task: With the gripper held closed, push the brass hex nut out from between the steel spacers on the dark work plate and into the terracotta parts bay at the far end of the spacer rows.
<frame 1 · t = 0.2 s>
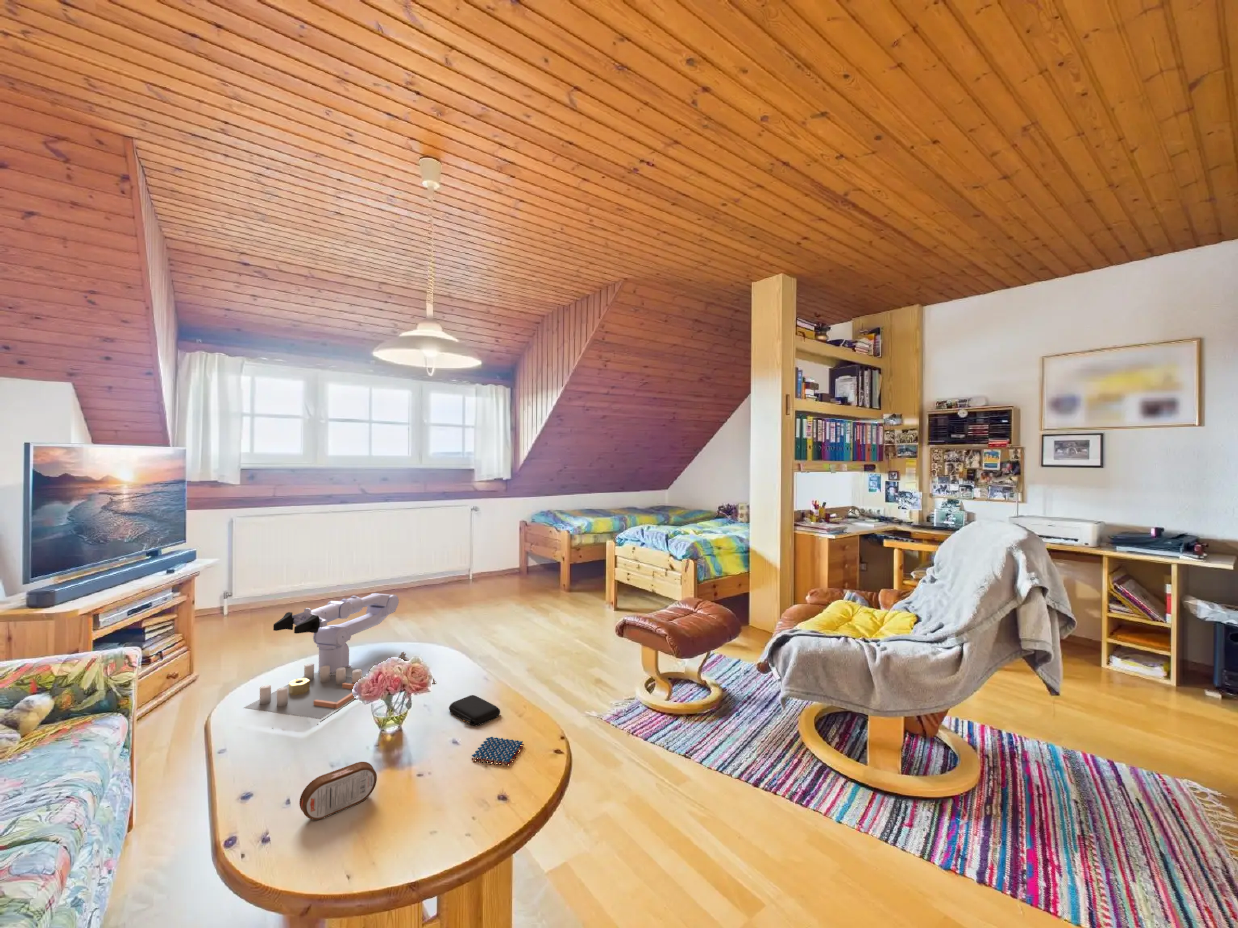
hand: (284, 628, 166), 21 cm above the table, tool horizontal, fingers open, 7 cm apart
brass nut: (299, 691, 168), point 1 cm above the table, touching work plate
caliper: (416, 676, 184), on the table
tin: (340, 809, 116), on the table
parts bay: (339, 699, 165), resting on work plate
carrying case or bag: (472, 716, 158), on the table
work plate: (315, 696, 167), on the table
woven mat: (498, 756, 138), on the table
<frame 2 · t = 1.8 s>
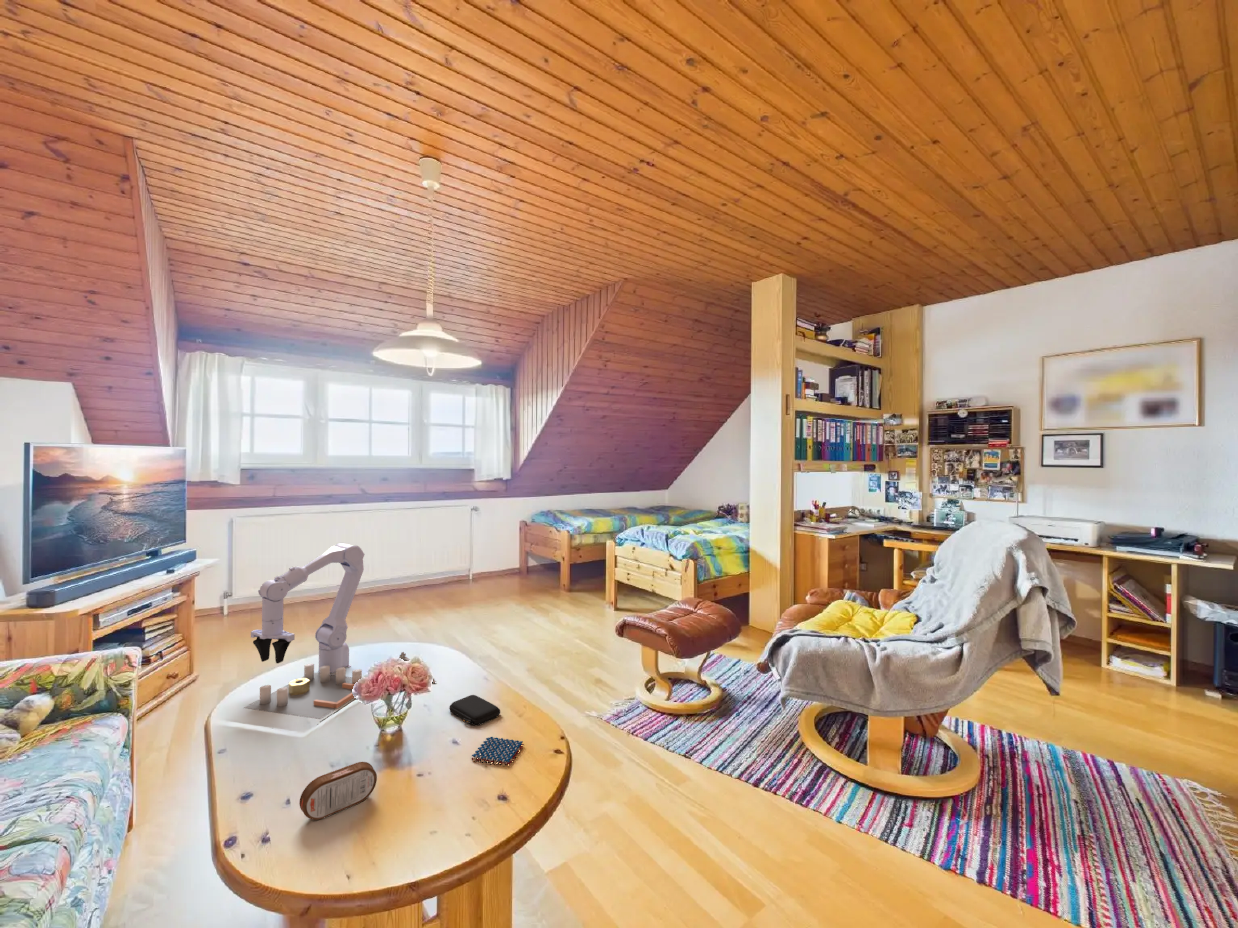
hand: (272, 661, 170), 9 cm above the table, tool pointing down, fingers open, 5 cm apart
nothing on the table moved.
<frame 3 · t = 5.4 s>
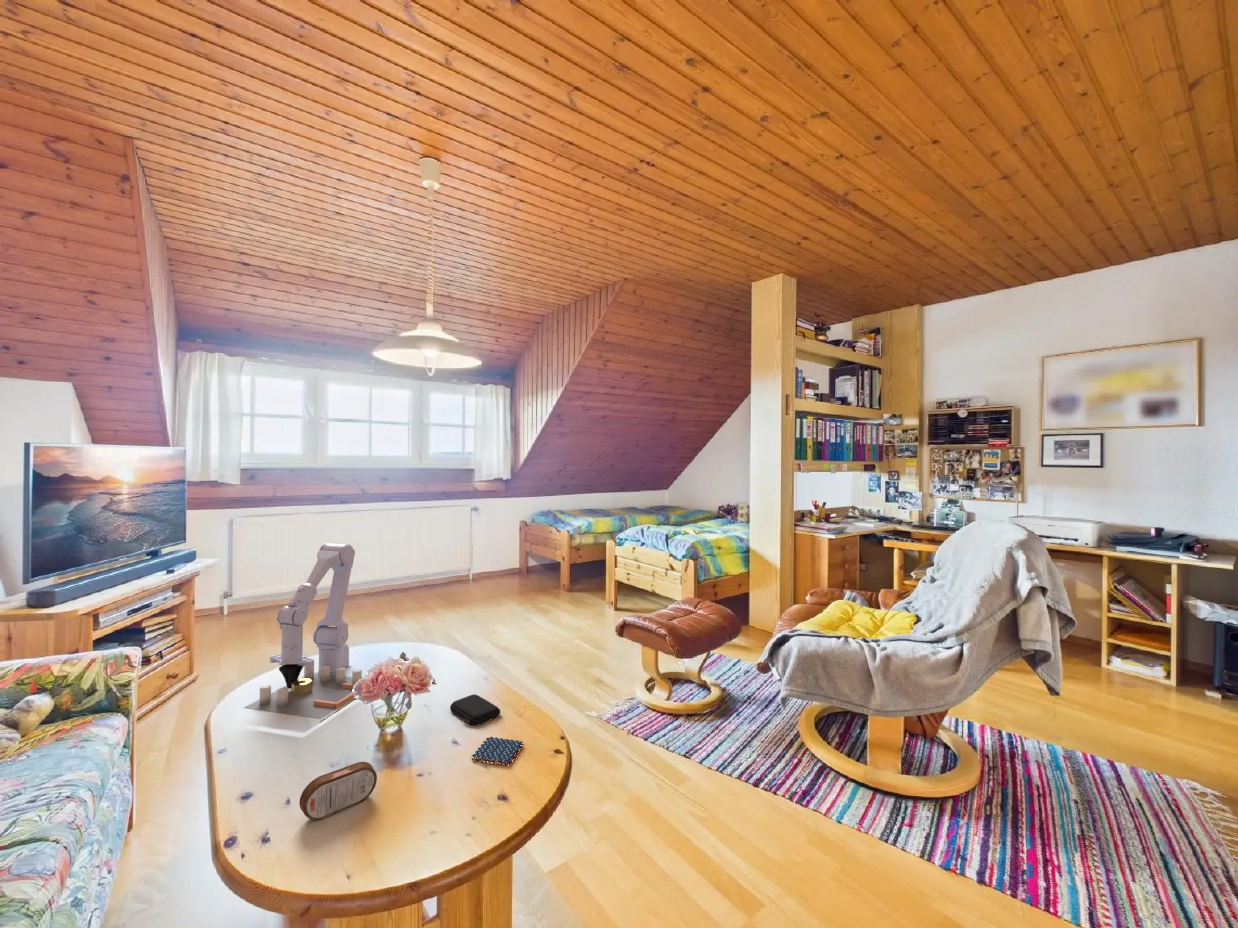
hand: (291, 686, 169), 2 cm above the table, tool pointing down, fingers closed
brass nut: (302, 691, 168), point 1 cm above the table, touching gripper
everything else where it was.
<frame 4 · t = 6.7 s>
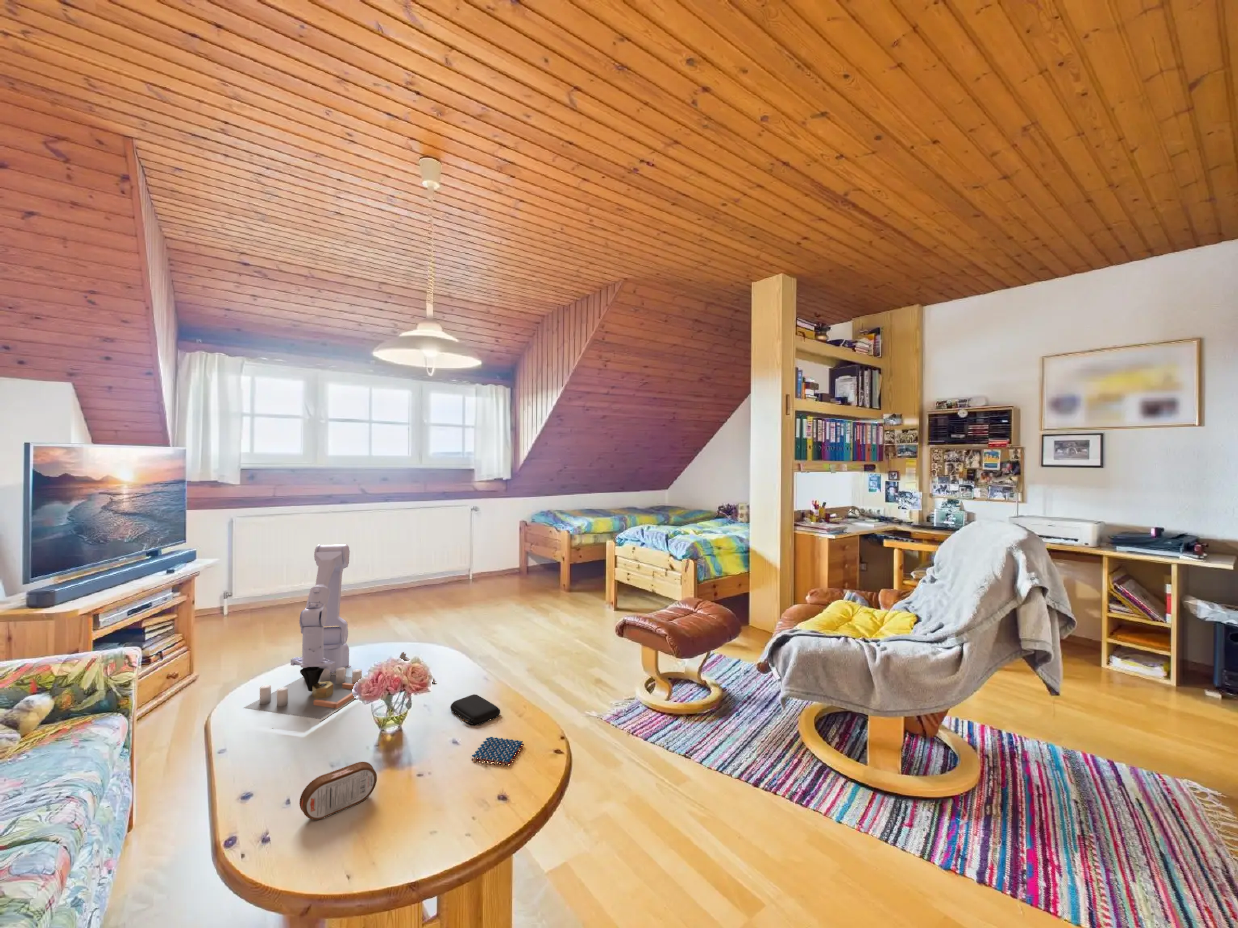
hand: (312, 689, 167), 2 cm above the table, tool pointing down, fingers closed
brass nut: (322, 694, 166), point 1 cm above the table, touching gripper, work plate
everything else where it was.
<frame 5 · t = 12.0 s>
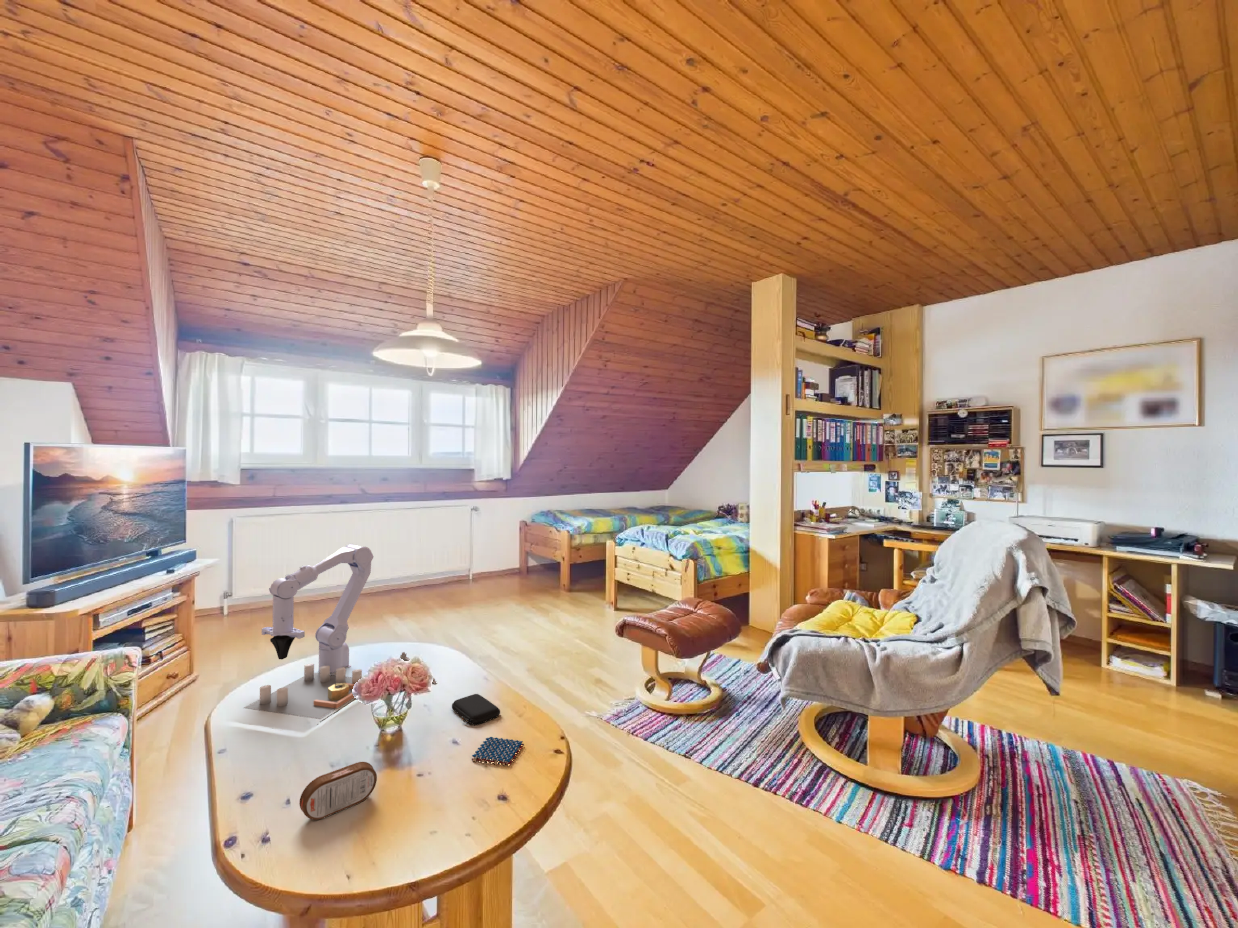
hand: (282, 658, 173), 9 cm above the table, tool pointing down, fingers closed
brass nut: (338, 696, 165), point 1 cm above the table, touching work plate
everything else where it was.
at the end: brass nut inside the target area (0.1 cm from its centre), point 1.0 cm above the table; brass nut tilted 0° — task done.
